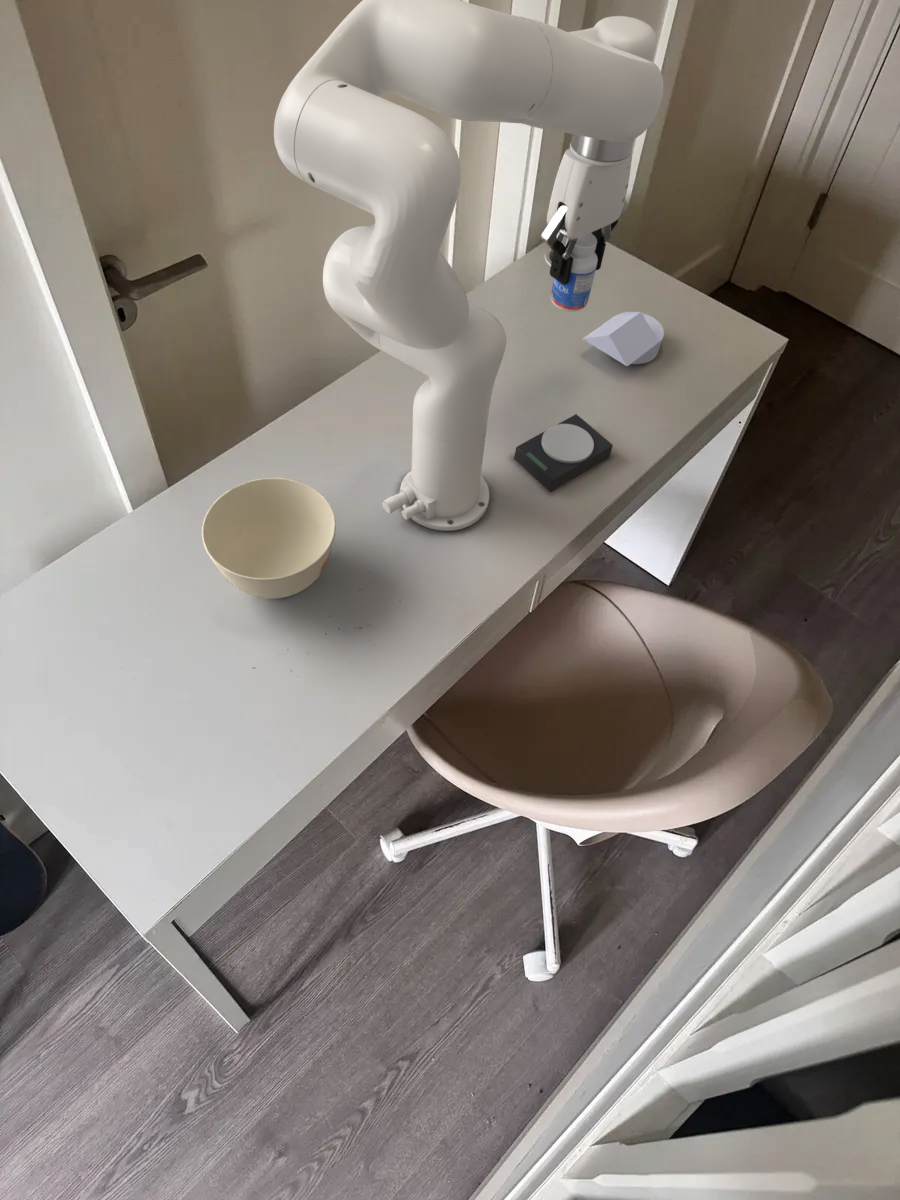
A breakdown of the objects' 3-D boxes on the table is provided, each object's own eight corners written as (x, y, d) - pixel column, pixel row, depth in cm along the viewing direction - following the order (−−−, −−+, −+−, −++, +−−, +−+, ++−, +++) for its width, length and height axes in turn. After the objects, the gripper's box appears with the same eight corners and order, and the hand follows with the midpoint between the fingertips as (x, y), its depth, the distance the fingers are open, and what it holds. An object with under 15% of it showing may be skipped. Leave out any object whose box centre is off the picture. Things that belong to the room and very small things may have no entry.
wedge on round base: (622, 383, 137) (669, 346, 143) (632, 349, 132) (680, 312, 138) (578, 355, 141) (625, 321, 146) (586, 321, 135) (635, 287, 141)
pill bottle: (543, 294, 123) (554, 230, 115) (575, 286, 125) (588, 223, 117) (562, 316, 120) (575, 253, 113) (594, 308, 122) (609, 245, 114)
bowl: (279, 509, 119) (271, 458, 110) (365, 571, 113) (363, 522, 105) (189, 579, 111) (173, 529, 103) (276, 648, 106) (267, 602, 98)
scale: (550, 492, 123) (553, 477, 121) (513, 458, 126) (516, 444, 124) (609, 457, 128) (614, 442, 125) (573, 425, 131) (576, 411, 129)
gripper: (628, 109, 109) (598, 240, 124) (529, 144, 102) (510, 279, 117) (672, 134, 106) (636, 265, 121) (573, 172, 99) (548, 307, 114)
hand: (574, 271), depth 119 cm, fingers closed on pill bottle, 5 cm apart
